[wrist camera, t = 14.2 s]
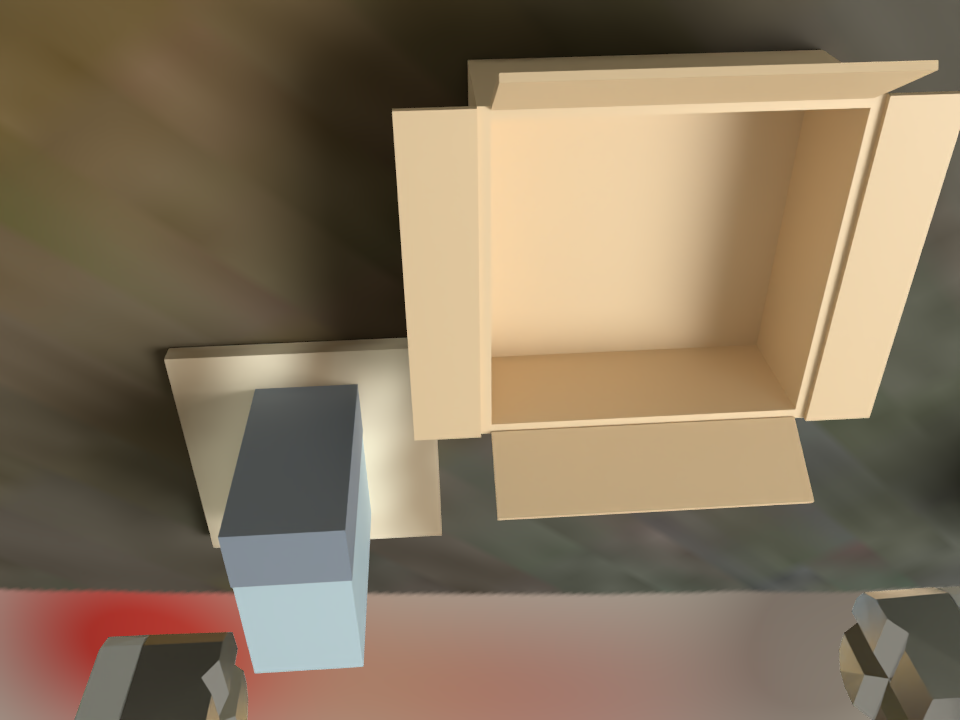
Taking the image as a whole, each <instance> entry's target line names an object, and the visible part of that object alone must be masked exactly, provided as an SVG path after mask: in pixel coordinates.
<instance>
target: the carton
mask: <svg viewBox="0 0 960 720" xmlns="http://www.w3.org/2000/svg"><path fill="white" fill-rule="evenodd" d="M467 61H468V106H463V107H431V108H399V109H392V118H393V133H394V148H395V162H396V177H397V191H398V206H399V221H400V235H401V250H402V265H403V279H404V294H405V309H406V323H407V338H408V353H409V367H410V382H411V396H412V411H413V426H414V440H415V441H416V440H436V439H456V438H476V437H481V434H485V433H492V434H491V435H492V449H493V462H494V476H495V490H496V504H497V517H498V520H512V519H530V518H548V517H567V516H585V515H603V514H621V513H639V512H657V511H675V510H693V509H712V508H730V507H748V506H766V505H784V504H802V503H812V502H814V498H813V494H812V490H811V485H810V481H809V477H808V473H807V468H806V464H805V460H804V456H803V452H802V447H801V443H800V439H799V435H798V430H797V426H796V422H795V418H804V419H805V420H806V421H814V420H834V419H854V418H869V417H870V414H871V411H872V407H873V404H874V401H875V398H876V395H877V391H878V388H879V385H880V382H881V379H882V376H883V372H884V369H885V366H886V363H887V360H888V356H889V353H890V350H891V347H892V344H893V340H894V337H895V334H896V331H897V328H898V325H899V321H900V318H901V315H902V312H903V309H904V305H905V302H906V299H907V296H908V293H909V289H910V286H911V283H912V280H913V277H914V274H915V270H916V267H917V264H918V261H919V258H920V254H921V251H922V248H923V245H924V242H925V238H926V235H927V232H928V229H929V226H930V223H931V219H932V216H933V213H934V210H935V207H936V203H937V200H938V197H939V194H940V191H941V187H942V184H943V181H944V178H945V175H946V171H947V168H948V165H949V162H950V159H951V156H952V152H953V149H954V146H955V143H956V140H957V136H958V133H959V130H960V91H946V92H913V93H887V92H890V91H892V90H894V89H896V88H899V87H901V86H903V85H905V84H907V83H910V82H912V81H914V80H916V79H919V78H921V77H923V76H925V75H928V74H930V73H932V72H934V71H937V70H938V60H926V61H892V62H858V63H841V62H840V61H838V60H837V59H835V58H834V57H832V56H831V55H829V54H828V53H827V52H825V51H824V50H797V51H762V52H727V53H692V54H656V55H621V56H586V57H551V58H515V59H480V60H467Z"/></svg>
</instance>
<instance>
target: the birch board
mask: <svg viewBox="0 0 960 720" xmlns="http://www.w3.org/2000/svg"><path fill="white" fill-rule="evenodd" d="M164 361H165V365H166V369H167V373H168V377H169V380H170V384H171V388H172V392H173V396H174V399H175V403H176V407H177V411H178V415H179V418H180V422H181V426H182V430H183V433H184V437H185V441H186V445H187V449H188V452H189V456H190V460H191V464H192V468H193V471H194V475H195V479H196V483H197V487H198V490H199V494H200V498H201V502H202V505H203V509H204V513H205V517H206V521H207V524H208V528H209V532H210V536H211V540H212V543H213V547H214V548H220V544H219V540H218V535H219V531H220V527H221V523H222V519H223V515H224V511H225V507H226V503H227V499H228V495H229V491H230V487H231V483H232V479H233V475H234V471H235V467H236V463H237V459H238V455H239V451H240V447H241V443H242V439H243V435H244V431H245V427H246V424H247V420H248V416H249V412H250V408H251V404H252V400H253V396H254V392H255V389H266V388H287V387H309V386H330V385H351V384H358V391H359V400H360V409H361V418H362V427H363V444H364V453H365V462H366V471H367V480H368V489H369V497H370V506H371V530H370V539H382V538H400V537H418V536H436V535H442V523H441V503H440V482H439V462H438V441H437V439H436V440H416V441H415V440H414V426H413V411H412V396H411V382H410V367H409V353H408V338H386V339H364V340H341V341H319V342H296V343H274V344H251V345H228V346H206V347H183V348H169V349H168V351H167V354H166V356H165V358H164Z"/></svg>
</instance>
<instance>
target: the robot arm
mask: <svg viewBox="0 0 960 720" xmlns="http://www.w3.org/2000/svg"><path fill="white" fill-rule="evenodd" d="M852 613H853V615H854V616H855V618H856V620H857V622H858V623H856V624H855V625H854V626H853V627H851V628H850V629H849V630H848V631H846V632H845V633H844V634H843V638H842V641H841V645H840V648H839V663H840V672H841V676H842V680H843V683H844V687H845V689H846V691H847V693H848V696H849V698H850V700H851V702H852V704H853V706H855V707H856V708H857V709H858V710H860V711H861V712H862V713H864V714H865V715H866V716H868V717H869V718H870V719H871V720H960V586H959V587H945V588H934V587H930V588H917V589H903V590H890V591H877V592H864V593H863V594H861V595H860V596H859V597H858V598H857V599H856V602H855V604H854V607H853V610H852ZM237 649H238V648H237V645H236V642H235V639H234V636H233V633H232V632H227V633H226V632H224V633H196V634H195V633H193V634H165V635H164V634H163V635H139V636H120V637H108V639H107V640H106V642H105V643H104V644H103V646H102V647H101V649H100V650H99V652H98V655H97V658H96V661H95V664H94V666H93V669H92V672H91V675H90V677H89V680H88V683H87V686H86V689H85V691H84V694H83V697H82V700H81V703H80V705H79V708H78V711H77V714H76V717H75V719H74V720H247V714H248V694H247V685H246V684H247V683H246V679H245V675H244V671H243V670H241V669H240V668H238V667H237V666H236V665H235V660H236V654H237Z"/></svg>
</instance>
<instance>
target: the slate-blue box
mask: <svg viewBox="0 0 960 720" xmlns="http://www.w3.org/2000/svg"><path fill="white" fill-rule="evenodd" d="M370 530H371V506H370V497H369V489H368V480H367V471H366V462H365V453H364V444H363V427H362V418H361V409H360V400H359V391H358V384H351V385H330V386H309V387H287V388H266V389H255V392H254V396H253V400H252V404H251V408H250V412H249V416H248V420H247V424H246V427H245V431H244V435H243V439H242V443H241V447H240V451H239V455H238V459H237V463H236V467H235V471H234V475H233V479H232V483H231V487H230V491H229V495H228V499H227V503H226V507H225V511H224V515H223V519H222V523H221V527H220V531H219V535H218V540H219V544H220V548H221V551H222V555H223V559H224V563H225V567H226V571H227V575H228V579H229V582H230V586H231V588H233V590H234V594H235V598H236V602H237V605H238V609H239V613H240V617H241V621H242V625H243V629H244V633H245V637H246V641H247V645H248V648H249V652H250V656H251V660H252V664H253V668H254V672H255V673H268V672H269V673H270V672H285V671H301V670H317V669H332V668H349V667H363V664H364V645H365V626H366V606H367V587H368V568H369V549H370Z"/></svg>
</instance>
